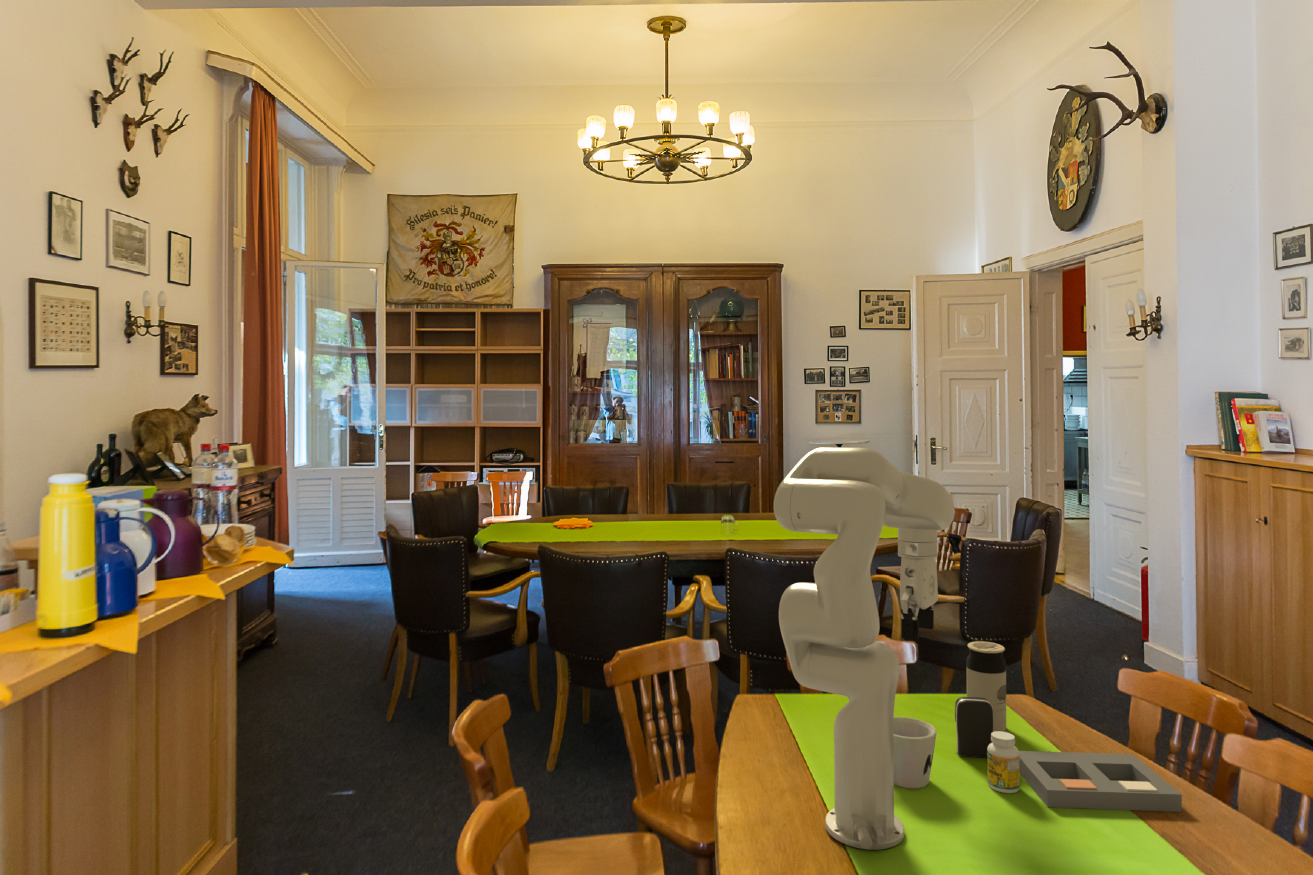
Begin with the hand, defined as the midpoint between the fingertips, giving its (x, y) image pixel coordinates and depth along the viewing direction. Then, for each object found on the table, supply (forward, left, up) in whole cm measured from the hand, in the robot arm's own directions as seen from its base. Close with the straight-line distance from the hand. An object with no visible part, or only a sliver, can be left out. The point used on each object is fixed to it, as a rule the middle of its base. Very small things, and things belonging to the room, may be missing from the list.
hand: (917, 633), depth 153 cm
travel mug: (+16, -18, -25) cm, 35 cm away
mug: (-10, +7, -25) cm, 28 cm away
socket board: (-11, -28, -25) cm, 39 cm away
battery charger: (+2, -11, -25) cm, 27 cm away
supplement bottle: (-12, -12, -25) cm, 30 cm away
